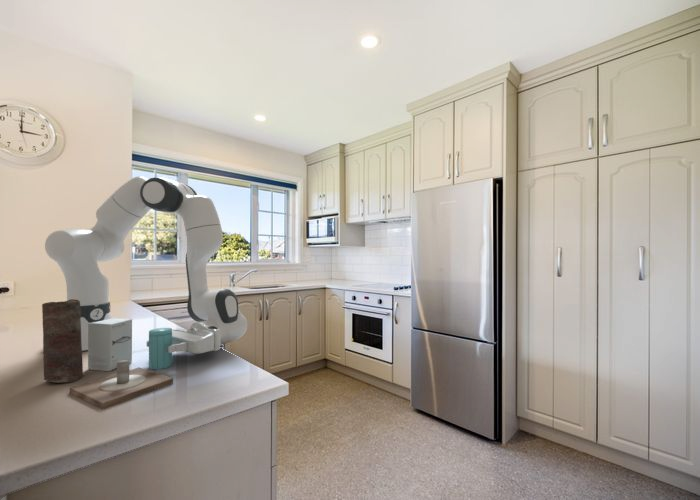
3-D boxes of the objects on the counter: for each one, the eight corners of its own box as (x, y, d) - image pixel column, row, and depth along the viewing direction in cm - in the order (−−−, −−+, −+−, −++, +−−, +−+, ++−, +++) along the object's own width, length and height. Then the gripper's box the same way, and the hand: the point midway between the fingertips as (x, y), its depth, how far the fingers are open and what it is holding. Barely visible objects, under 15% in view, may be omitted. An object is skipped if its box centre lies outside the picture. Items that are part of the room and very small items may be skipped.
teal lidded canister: (144, 367, 92) (144, 331, 92) (164, 361, 97) (164, 326, 97) (156, 370, 89) (156, 333, 89) (176, 364, 94) (176, 329, 94)
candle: (37, 388, 78) (37, 302, 78) (48, 377, 85) (48, 298, 85) (78, 382, 82) (78, 300, 82) (86, 372, 88) (85, 296, 88)
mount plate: (69, 392, 76) (69, 365, 76) (139, 371, 89) (139, 348, 89) (102, 408, 68) (102, 378, 68) (172, 383, 81) (172, 357, 81)
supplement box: (109, 371, 89) (109, 324, 89) (86, 369, 90) (86, 323, 90) (133, 362, 96) (133, 318, 96) (111, 360, 98) (111, 317, 98)
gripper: (181, 321, 110) (137, 330, 98) (223, 329, 99) (179, 340, 87) (181, 341, 110) (137, 352, 98) (223, 350, 99) (179, 364, 88)
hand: (157, 346), depth 93 cm, fingers open, 8 cm apart
